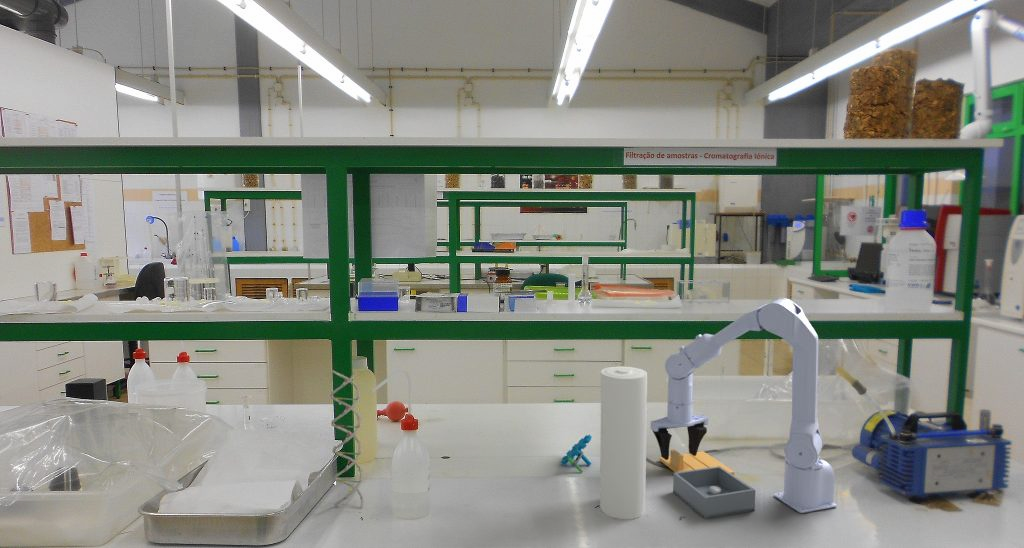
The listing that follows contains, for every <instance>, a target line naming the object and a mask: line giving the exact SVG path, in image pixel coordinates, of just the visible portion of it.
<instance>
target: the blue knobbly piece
mask: <svg viewBox="0 0 1024 548" xmlns="http://www.w3.org/2000/svg"><path fill="white" fill-rule="evenodd" d="M590 441H592V436H591V434H585V436H584V437H582V438H581V439H580V440H579V441H578V442H577V443H574V445H572V447H571V450H570V449H569V450H567V452H566V455H564V456H563V457H562V458H561V461H560V464H561V465H562V466H566V465H567V464H570V465H571V466H572V468H576V469H577V470H578V472H579V473H583V472H584V470H583V469H582V468H581V467H580V466H579V465H578V464H579V462H580V460H581V459H582V461H583V462H584V463H585V464H586V465H587V466H588V467H590V466H591V465H592V462H591V461H590V460H589V459H588V458H587V456H586V455H585V453H584V452H583V450H584V449H585V448H586V447H587V444H589V443H590ZM575 457H576V458H575Z"/></svg>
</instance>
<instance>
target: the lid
mask: <svg viewBox="0 0 1024 548" xmlns="http://www.w3.org/2000/svg"><path fill="white" fill-rule="evenodd" d="M658 459H659V461H660V462H661V463H662V464H664V465H665V466H666V467H668V468H669V469H670V470H672V471H673V473H676V472H683V471H689V470H696V469H703V468H710V467H717V466H720V467H722V468H723V469H725V470H726V471H728V472H729V473H731V474H732V475H734V476H735V471H734V470H732V469H731V468H729V467H728V466H726V465H725V464H723V463H722V462H720V461H719V460H717V459H716V458H714V457H712V455H710V454H708V453H706V452H705V451H704V450H701V451H697V454H696V456H693V455H692V454H690V453H689V452H687V453H680V452H679V451H677V450H676V449H670V454H669V458H668V460H665V459H664V458H662V457H661V456H659V457H658Z"/></svg>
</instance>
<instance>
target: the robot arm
mask: <svg viewBox="0 0 1024 548" xmlns="http://www.w3.org/2000/svg"><path fill="white" fill-rule="evenodd" d="M762 330H765V331H767V332H769V333H771V334H773V335H776V336H778V337H781V338H782V339H783V340H784V341H785V342H787V343H788V344H789V345H791V348H792V370H791V371H792V372H791V373H792V383H791V384H792V385H791V392H792V393H791V424H790V427H789V428H790V429H789V439H788V441H787V442H786V443H785V445H784V455H785V456H784V470H783V471H784V472H783V473H784V475H783V476H784V477H783V491H782V492H776V493H774V494H773V496H774V497H775V498H776V499H778V500H779V501H781V502H783V503H784V504H786V505H787V506H789V507H791V508H792V509H794V510H795V511H797V512H798V513H801V514H803V513H805V514H806V513H811V512H815V511H821V510H825V509H830V508H831V509H832V508H837V503H835V502H834V500H835V499H834V498H835V480H836V479H835V476H836V475H835V473H834V472H835V471H834V469H833V467H832V466H831V464H829V462H828V461H826V460H824V459H822V458H821V456H820V452H821V450H822V449H823V447H824V443H825V442H824V438H823V436H822V435H823V434H821V431H820V428H819V427H820V425H819V423H820V422H819V420H818V386H819V335H818V334H817V332H816V330H815V328H814V327H813V326H812V324H811V323H810V321H809V320H808V318H807V316H806V315H805V313H804V311H803V308H802V307H801V306H799V305H798V304H796V303H795V302H794V301H792V300H790V299H789V298H786V297H778V298H775V299H773V300H772V301H770V302H769V303H765V304H763V305H760V306H759V307H756V308H755V309H752V310H750V311H747V312H746V313H744V314H742V315H741V316H740V317H738V318H737V319H736V320H734V321H733V322H731V323H730V324H729V325H726V326H725V327H724V328H722V329H721V330H720V331H718V332H716V333H715V334H710V333H704V334H700V333H699V334H697V335H696V336H695V337H696V338H695V337H694V339H695V340H693V341H692V342H690V343H689V344H687V345H686V346H685V345H682V346H681V347H679V348H678V351H677V352H675V353H673V354H671V355H670V356H669V357H668V358H667V359H665V363H664V369H665V372H666V374H668V375H667V376H668V377H667V378H668V379H667V410H666V411H667V412H666V413H667V416H665V417H662V418H658V419H656V420H651V421H650V430H651V431H652V432H653V434H654V436H655V439H656V441H657V444H658V446H659V451H660V455H661V456H660V457H662V458H664V459H665V460H668V458H669V456H670V446H671V445H670V443H671V439H672V434H671V433H669V429H677V428H687V429H686V430H687V434H688V453H690V454H692V455H693V456H696V454H697V452H699V451H698V450H699V447H700V444H701V442H702V440H703V438H704V436H705V435H706V434H707V432H708V428H707V427H705V426H708V425H709V417H708V416H706V415H704V414H700V415H698V414H697V415H695V414H693V396H694V395H693V391H694V390H693V389H694V387H693V385H694V384H693V378H694V375H693V374H694V373H693V372H695V370H697V369H699V368H701V367H703V366H705V365H706V364H708V363H709V362H711V361H712V360H714V359H716V358H718V357H719V356H720V355H722V354H721V353H722V349H723V347H724V346H725V345H727V344H728V343H730V342H732V341H734V340H736V339H737V338H739V337H741V336H743V335H744V334H745V333H747V332H749V331H753V332H755V331H756V332H760V331H761V332H762Z"/></svg>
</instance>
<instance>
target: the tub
mask: <svg viewBox="0 0 1024 548" xmlns="http://www.w3.org/2000/svg"><path fill="white" fill-rule="evenodd" d="M672 475H673V476H672V478H673V479H672V480H673V481H672V483H673V484H672V493H673V494H675V495H676V496H677V497H678V498H679V499H681V500H682V501H683V502H684V503H685V504H686V505H688V506H689V507H690V508H691V509H693V511H694V512H696V513H697V514H698V515H700V516H701V517H702V518H703V519H704V520H708V519H714V518H719V517H726V516H730V515H737V514H743V513H748V512H753V511H755V509H756V489H754V488H753V487H751V486H750V485H749V484H747V483H746V482H744V481H743V480H741V479H740V478H738V477H737V476H736V475H735V474H734V475H732V474H731V473H729V472H728V471H726V470H725V469H723V468H722V467H720V466H717V467H710V468H703V469H696V470H689V471H683V472H676V473H675V472H673V474H672Z"/></svg>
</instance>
